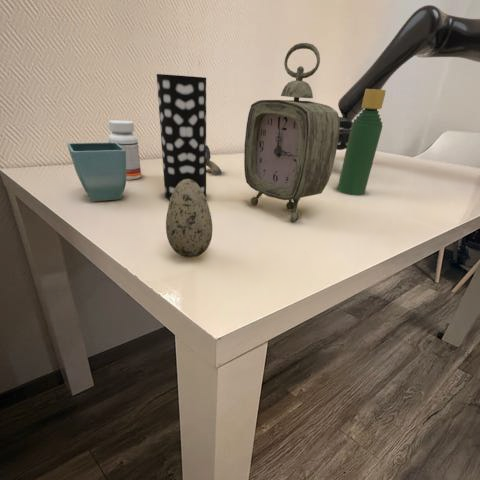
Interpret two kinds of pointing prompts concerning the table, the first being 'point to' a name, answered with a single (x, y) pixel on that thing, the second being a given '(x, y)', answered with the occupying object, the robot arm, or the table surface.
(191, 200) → the decorative egg
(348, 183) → the bottle
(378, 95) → the cap
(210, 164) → the eagle figurine
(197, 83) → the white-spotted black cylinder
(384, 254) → the table surface
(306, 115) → the tabletop clock
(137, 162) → the pill bottle
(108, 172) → the flower pot
